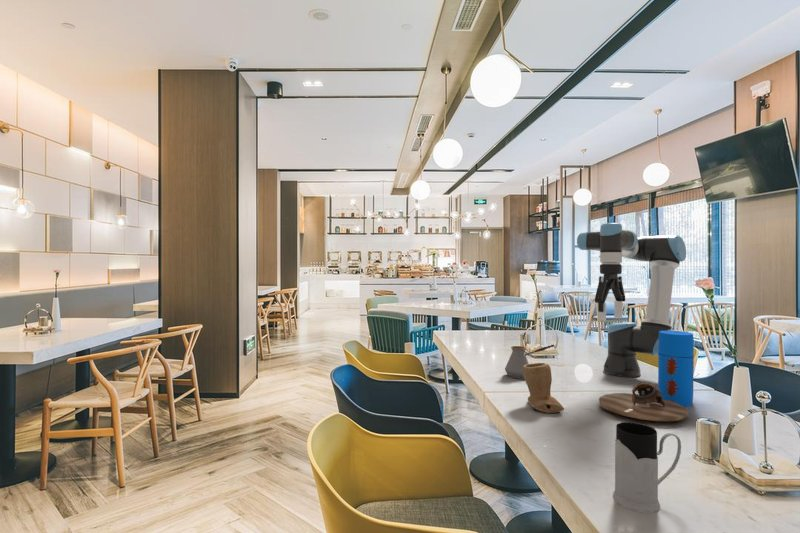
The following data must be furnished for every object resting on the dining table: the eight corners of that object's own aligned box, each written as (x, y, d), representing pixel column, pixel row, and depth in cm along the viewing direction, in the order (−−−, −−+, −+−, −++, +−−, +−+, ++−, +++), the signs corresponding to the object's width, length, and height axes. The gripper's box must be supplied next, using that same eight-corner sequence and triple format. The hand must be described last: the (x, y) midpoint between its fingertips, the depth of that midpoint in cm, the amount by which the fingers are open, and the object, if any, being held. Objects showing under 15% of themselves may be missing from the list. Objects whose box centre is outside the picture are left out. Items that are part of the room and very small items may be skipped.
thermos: (654, 401, 157) (655, 332, 157) (661, 395, 165) (662, 329, 165) (690, 408, 150) (690, 336, 149) (695, 401, 157) (696, 332, 157)
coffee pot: (503, 378, 188) (503, 343, 188) (506, 372, 199) (506, 339, 199) (555, 382, 182) (555, 347, 182) (555, 376, 192) (555, 342, 192)
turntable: (619, 391, 164) (619, 388, 164) (699, 409, 144) (699, 406, 144) (584, 405, 147) (584, 402, 147) (670, 427, 127) (670, 424, 127)
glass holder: (604, 490, 94) (604, 421, 94) (665, 487, 96) (665, 419, 95) (629, 513, 85) (629, 437, 85) (695, 510, 87) (696, 435, 87)
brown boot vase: (519, 399, 158) (520, 358, 158) (553, 401, 157) (553, 359, 157) (527, 413, 143) (528, 368, 143) (564, 415, 142) (565, 369, 142)
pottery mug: (673, 411, 140) (665, 391, 138) (645, 422, 141) (636, 402, 139) (653, 391, 151) (645, 372, 149) (627, 402, 152) (619, 383, 151)
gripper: (615, 263, 176) (615, 316, 176) (584, 263, 160) (584, 320, 160) (634, 263, 170) (634, 317, 170) (605, 263, 155) (604, 322, 155)
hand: (610, 319), depth 165 cm, fingers open, 13 cm apart
